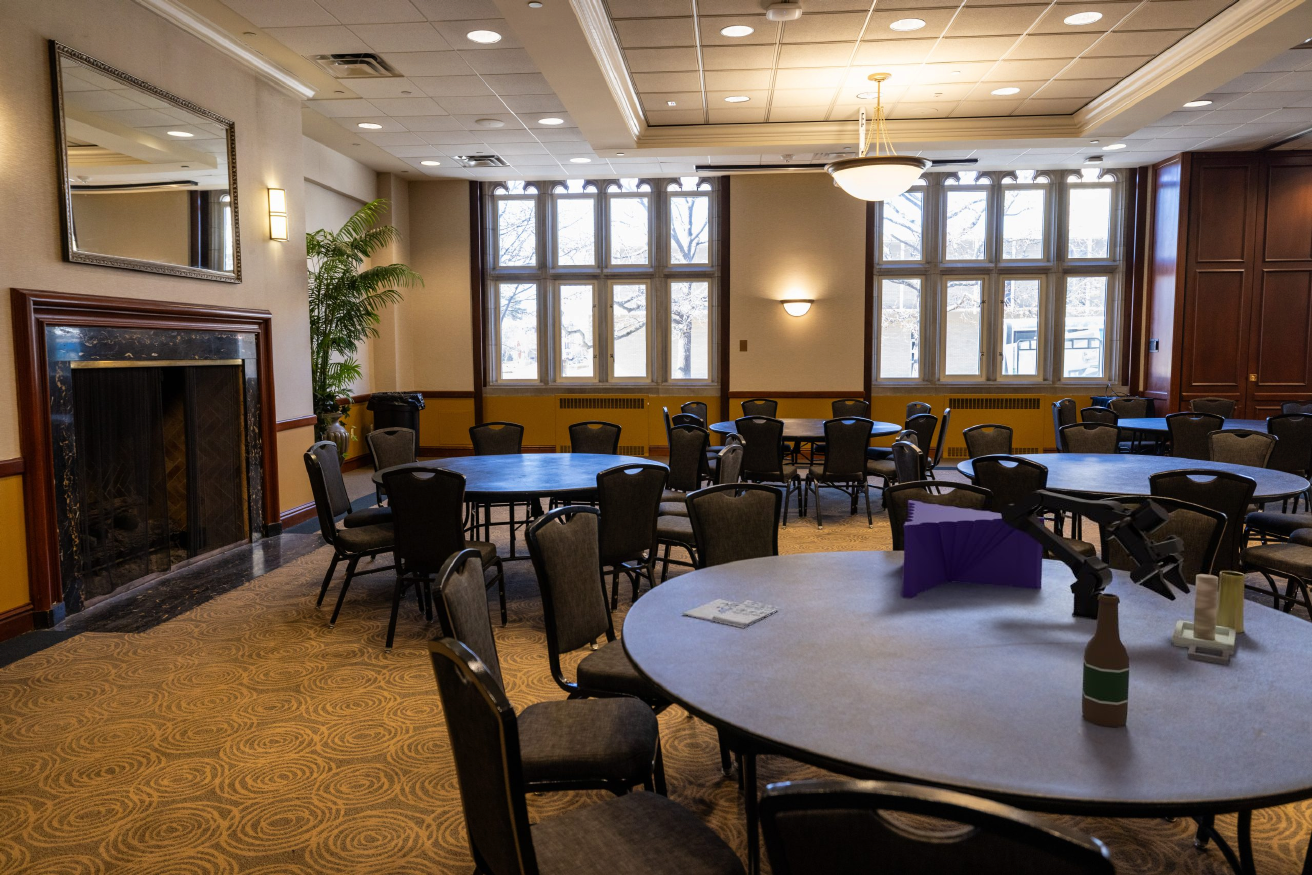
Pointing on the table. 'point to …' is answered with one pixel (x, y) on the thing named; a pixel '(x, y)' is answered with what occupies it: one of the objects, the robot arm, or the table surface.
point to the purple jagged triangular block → (966, 550)
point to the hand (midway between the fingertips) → (1181, 596)
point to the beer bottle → (1106, 669)
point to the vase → (1230, 600)
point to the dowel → (1205, 607)
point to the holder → (1210, 650)
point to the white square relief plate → (733, 612)
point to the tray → (1185, 638)
